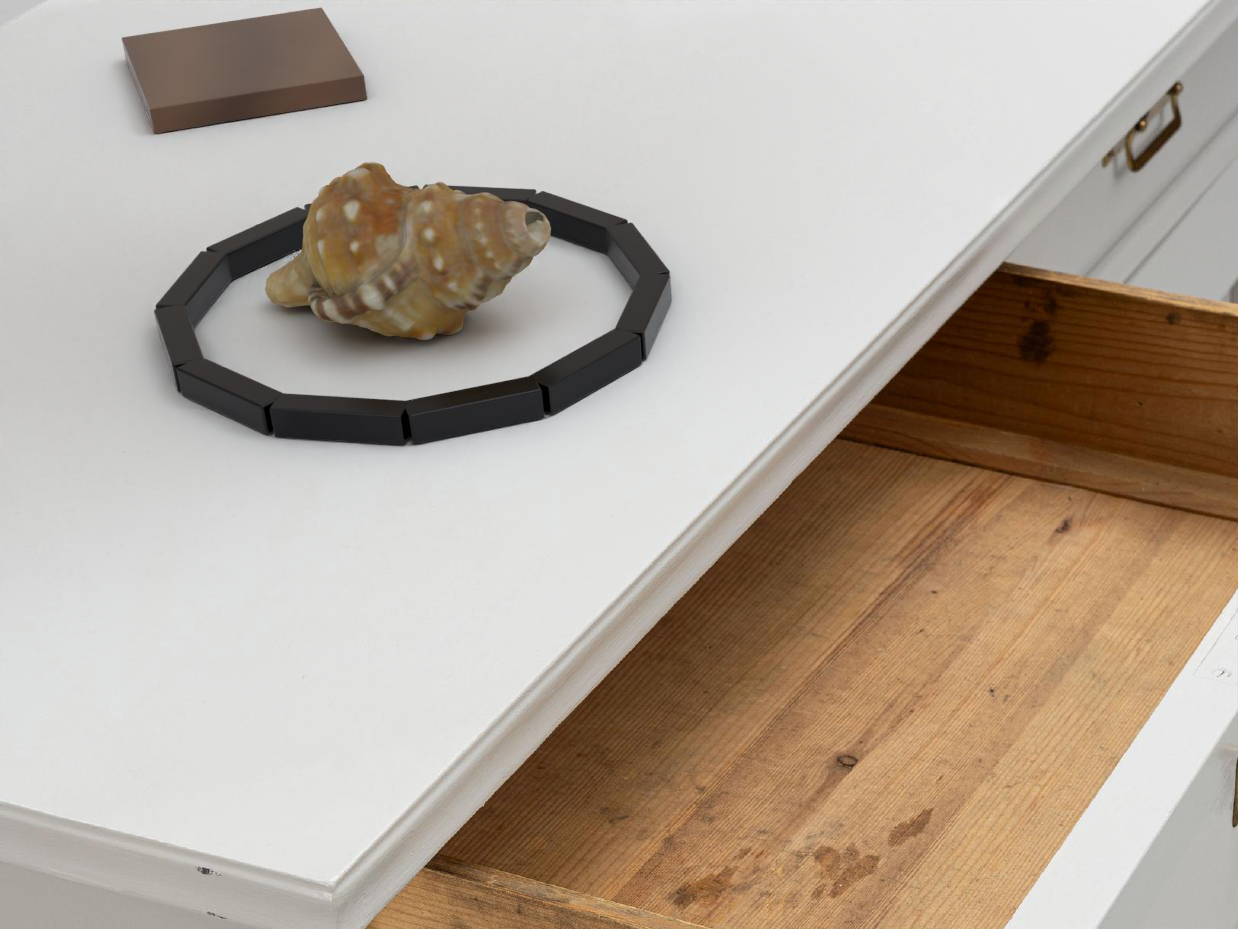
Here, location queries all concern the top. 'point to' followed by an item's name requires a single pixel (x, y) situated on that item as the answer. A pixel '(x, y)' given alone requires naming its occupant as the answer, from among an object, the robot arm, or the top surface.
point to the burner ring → (428, 413)
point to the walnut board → (242, 69)
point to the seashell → (405, 254)
